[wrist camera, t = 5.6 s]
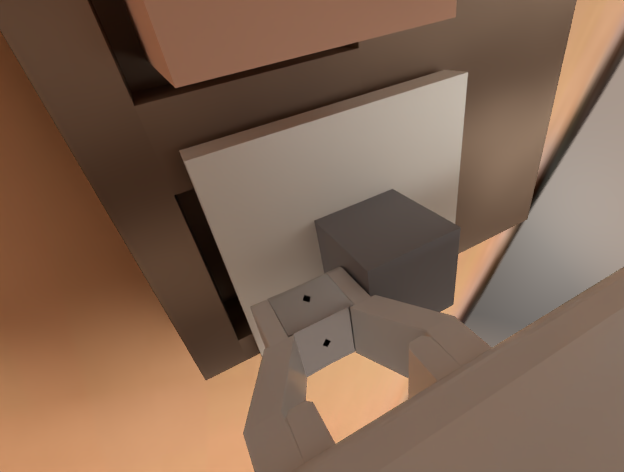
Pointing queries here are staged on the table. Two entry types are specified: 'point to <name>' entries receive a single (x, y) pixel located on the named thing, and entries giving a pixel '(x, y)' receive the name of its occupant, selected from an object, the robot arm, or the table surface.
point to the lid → (342, 195)
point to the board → (269, 108)
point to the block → (263, 30)
